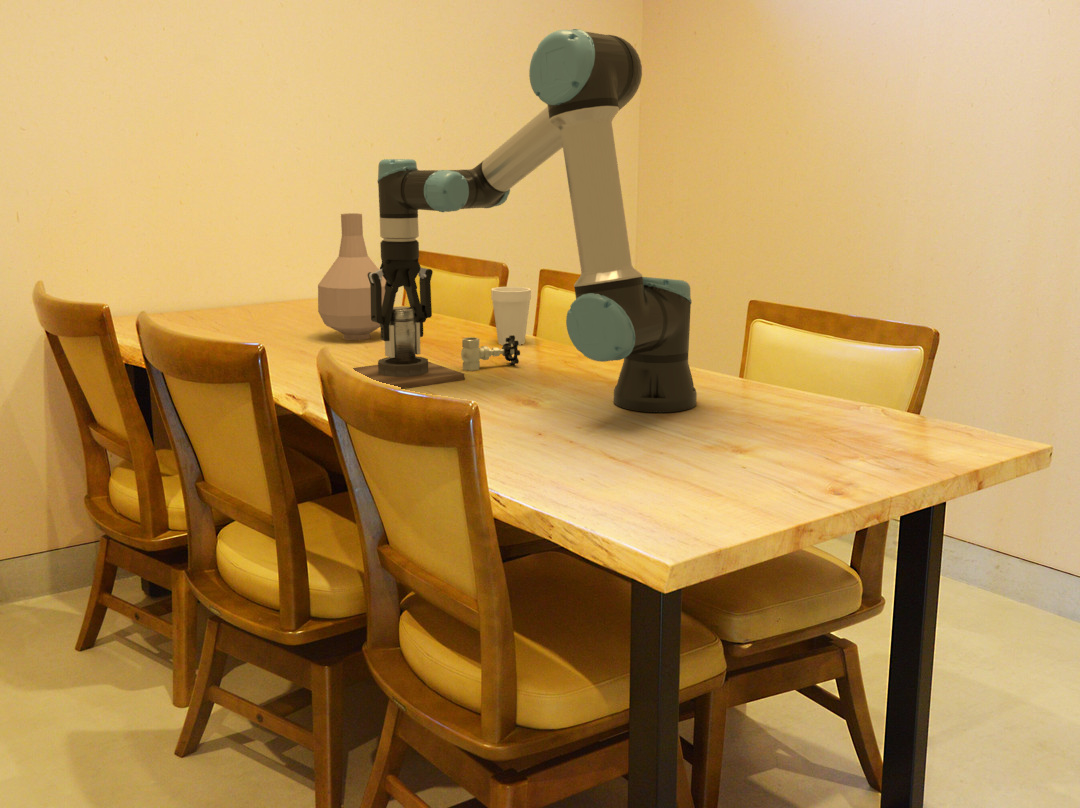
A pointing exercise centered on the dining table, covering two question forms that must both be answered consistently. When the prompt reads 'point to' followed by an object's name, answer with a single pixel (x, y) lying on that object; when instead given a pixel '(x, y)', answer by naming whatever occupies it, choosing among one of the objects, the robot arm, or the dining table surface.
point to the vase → (349, 285)
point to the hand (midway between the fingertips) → (402, 354)
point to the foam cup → (511, 312)
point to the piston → (404, 333)
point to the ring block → (409, 372)
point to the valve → (487, 352)
